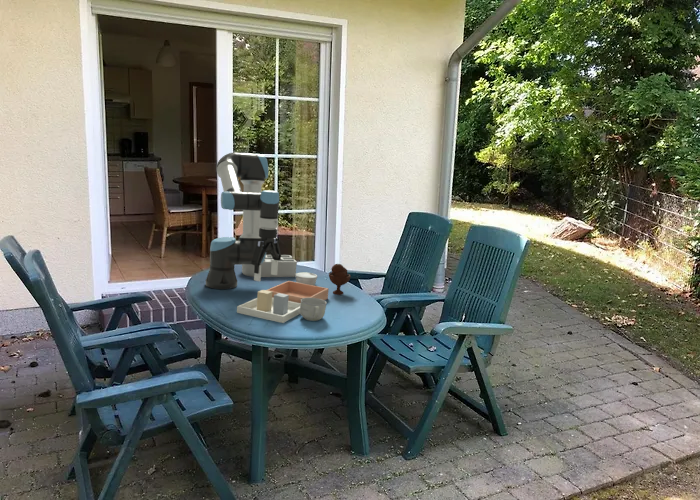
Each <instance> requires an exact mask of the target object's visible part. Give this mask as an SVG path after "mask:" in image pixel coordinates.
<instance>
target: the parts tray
mask: <svg viewBox="0 0 700 500" xmlns="http://www.w3.org/2000/svg"><path fill="white" fill-rule="evenodd" d="M273 304H274V298H273V297H272V306H271V310H269V311H267V312H264V311H260V310H257V297H256V298H253V299H251V300H249V301H246V302H244V303H242V304H239V305H237V306H236V313H237V314H241V315H245V316H249V317H254V318H259V319H263V320H267V321H272V322H276V323H280V324H284V323H286V322H287V321H290V320H292V319H293V318H295V317H297V316H298V315H301V314H300V305H301V303H297V302H292V301H288V313H286V314H284V315H278V314H274V313H273Z"/></svg>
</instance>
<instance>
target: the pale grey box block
mask: <svg viewBox="0 0 700 500" xmlns="http://www.w3.org/2000/svg"><path fill="white" fill-rule="evenodd" d="M288 299H289V295H286V294H281V293H278V294H276V295H274V304H273V313H274V314H278V315H284V314H286V313H288Z"/></svg>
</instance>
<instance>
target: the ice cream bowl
mask: <svg viewBox="0 0 700 500" xmlns="http://www.w3.org/2000/svg"><path fill="white" fill-rule="evenodd" d="M330 270H331V272H329V273H328V278H329V280H330V282H331V284H333V285H335V286H336V289H335V290H333V291H332V294H333V295H338V296H342V295H344V291H343V290H341V286H344V285H346V284H347V283H349V281H350V279H351V277H352V276H351V274H349V273H348V269H347V268H346V267H345V266H344V265H342V264H341V263H336V264H334V265H332V267H331V269H330Z"/></svg>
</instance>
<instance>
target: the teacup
mask: <svg viewBox="0 0 700 500" xmlns="http://www.w3.org/2000/svg"><path fill="white" fill-rule="evenodd" d="M327 304H328V303H327V301H326V300H322V299H318V298H302V299H301V305H300V314H299V315H301V316H302V318H303V319H304V320H307V321H311V322H312V321H313V322H315V321H316V322H317V321H320V320H321V319H323V318H324V316H325V314H326V309H327Z"/></svg>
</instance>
